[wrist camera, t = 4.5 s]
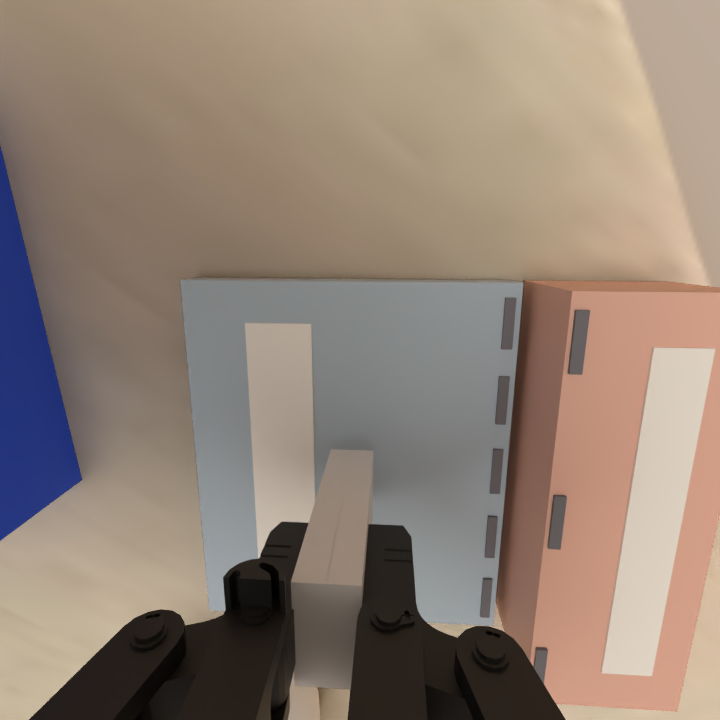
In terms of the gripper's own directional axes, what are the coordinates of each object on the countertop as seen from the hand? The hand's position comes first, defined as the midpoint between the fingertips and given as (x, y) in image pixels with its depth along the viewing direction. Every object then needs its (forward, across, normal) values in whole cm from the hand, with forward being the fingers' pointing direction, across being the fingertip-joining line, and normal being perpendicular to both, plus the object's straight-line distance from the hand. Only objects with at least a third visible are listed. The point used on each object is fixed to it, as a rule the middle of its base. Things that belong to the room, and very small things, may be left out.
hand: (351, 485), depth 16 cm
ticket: (+3, 0, 0) cm, 3 cm away
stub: (+3, +9, 0) cm, 9 cm away
